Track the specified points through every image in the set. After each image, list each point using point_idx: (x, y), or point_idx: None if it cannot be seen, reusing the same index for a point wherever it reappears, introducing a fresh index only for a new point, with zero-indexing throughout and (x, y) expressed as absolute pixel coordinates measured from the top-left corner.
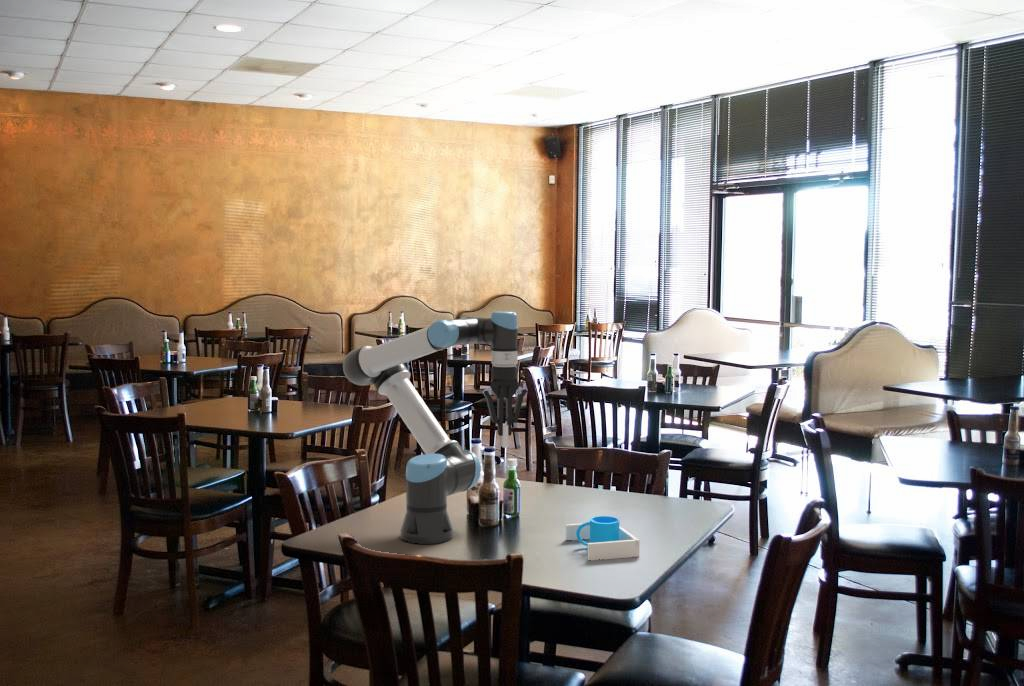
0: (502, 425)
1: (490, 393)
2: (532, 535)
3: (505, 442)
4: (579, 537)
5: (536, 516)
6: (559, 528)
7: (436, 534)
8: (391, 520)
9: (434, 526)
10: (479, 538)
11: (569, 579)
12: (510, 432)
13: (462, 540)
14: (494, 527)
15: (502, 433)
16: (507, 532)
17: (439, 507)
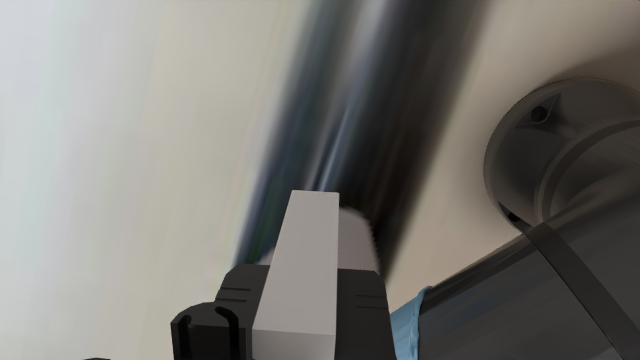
0: (337, 357)
1: None
2: (242, 77)
3: (315, 212)
4: None
5: (181, 263)
6: (140, 126)
7: (585, 84)
8: None
9: (604, 97)
10: (416, 96)
11: None
12: (236, 282)
13: (475, 91)
14: None
15: (338, 284)
16: (310, 133)
17: (612, 133)
